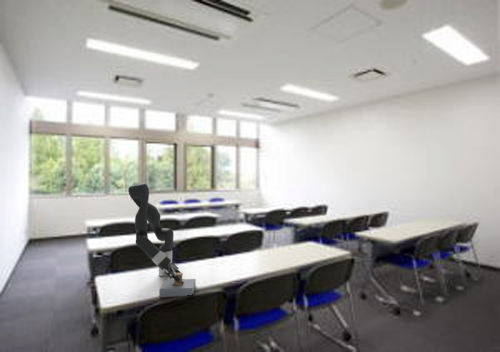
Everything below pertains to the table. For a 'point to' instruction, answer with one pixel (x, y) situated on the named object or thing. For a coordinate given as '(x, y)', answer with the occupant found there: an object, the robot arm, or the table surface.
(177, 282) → the walnut peg
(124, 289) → the table surface
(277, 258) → the table surface
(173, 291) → the dock socket
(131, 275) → the table surface
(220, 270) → the table surface
